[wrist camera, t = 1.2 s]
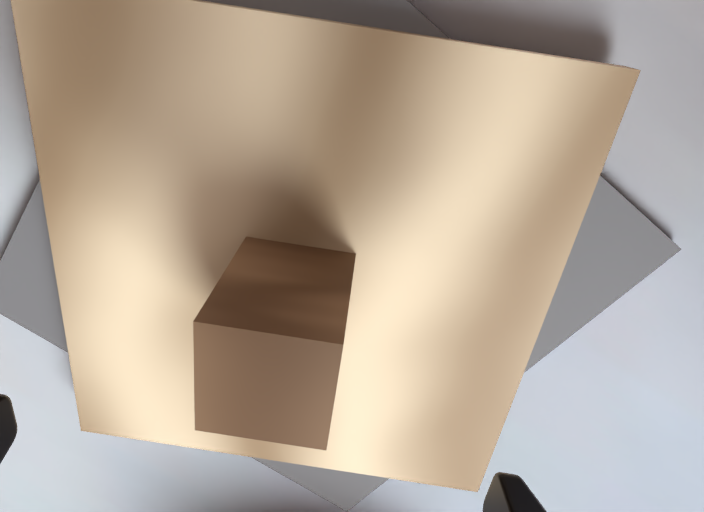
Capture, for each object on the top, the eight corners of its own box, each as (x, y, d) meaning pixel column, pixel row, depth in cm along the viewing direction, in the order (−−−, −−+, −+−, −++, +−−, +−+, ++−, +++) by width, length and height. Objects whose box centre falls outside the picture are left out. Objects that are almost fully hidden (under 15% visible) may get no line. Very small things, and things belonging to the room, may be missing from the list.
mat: (673, 243, 14) (681, 249, 13) (347, 502, 20) (346, 511, 19) (218, -172, 10) (211, -178, 10) (-11, 295, 16) (-20, 302, 16)
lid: (625, 65, 11) (764, 102, 7) (474, 472, 18) (500, 619, 14) (30, -27, 11) (-185, -45, 7) (93, 413, 18) (0, 542, 14)
